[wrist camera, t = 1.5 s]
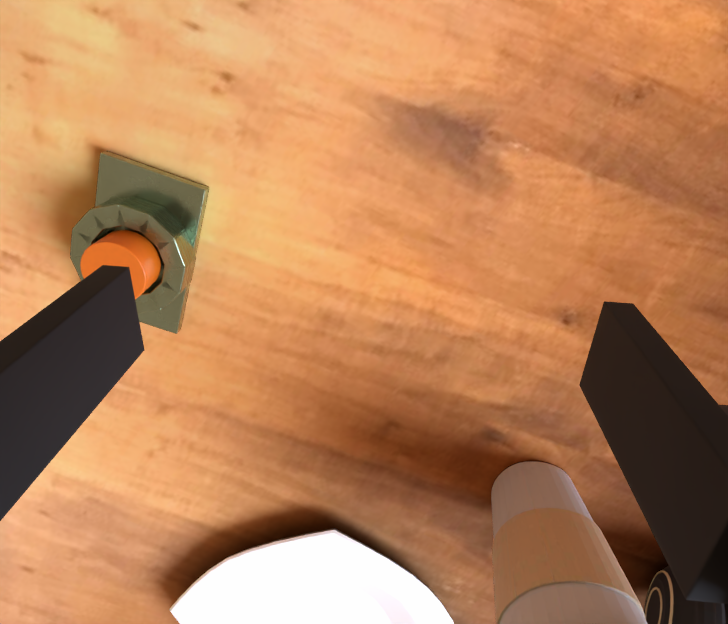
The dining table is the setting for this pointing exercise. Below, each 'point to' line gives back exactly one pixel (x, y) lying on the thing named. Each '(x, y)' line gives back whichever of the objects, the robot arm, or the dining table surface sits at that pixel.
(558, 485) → the coffee cup
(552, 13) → the dining table surface
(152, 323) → the switch block
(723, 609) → the headphones
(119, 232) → the round orange push button
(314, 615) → the plate
